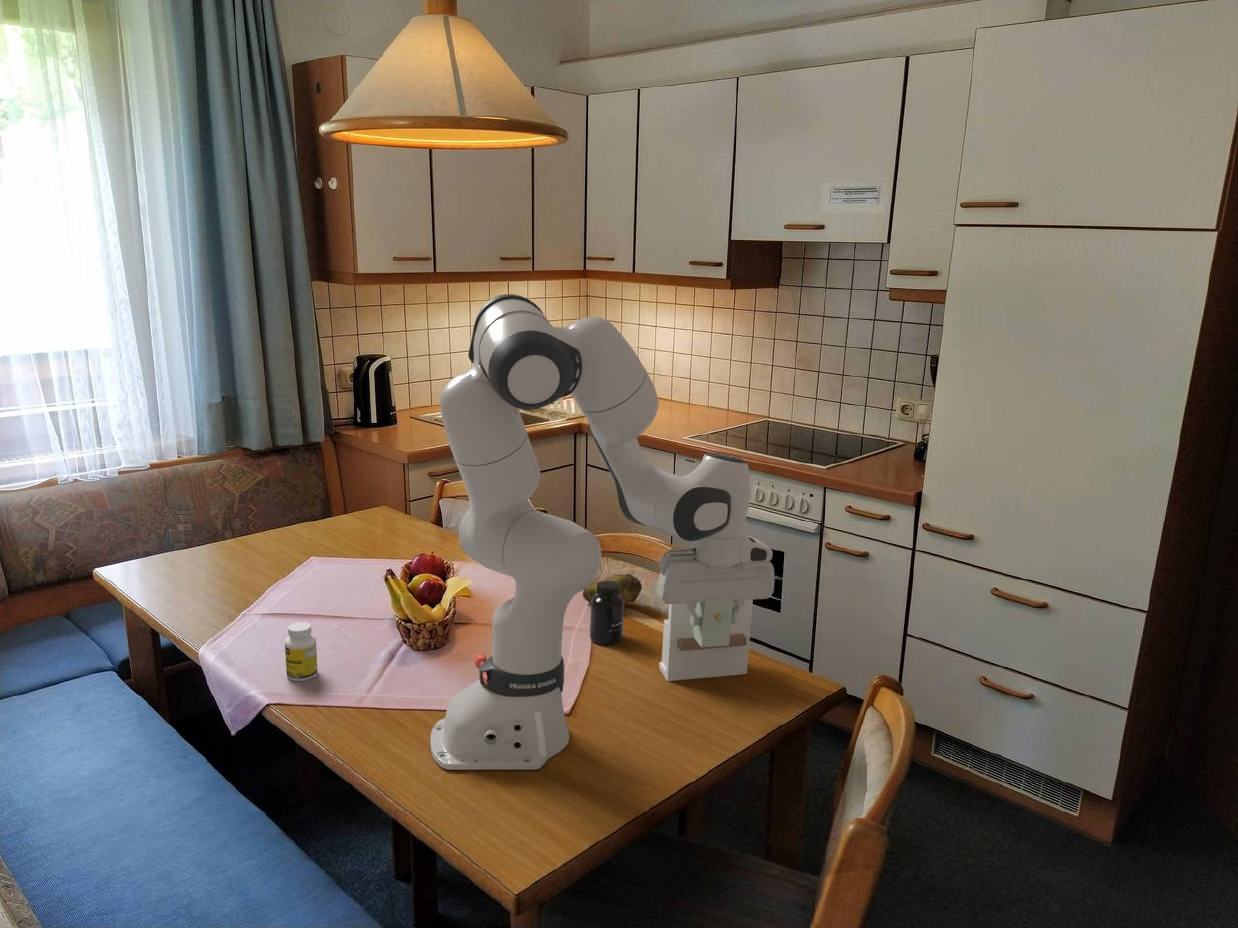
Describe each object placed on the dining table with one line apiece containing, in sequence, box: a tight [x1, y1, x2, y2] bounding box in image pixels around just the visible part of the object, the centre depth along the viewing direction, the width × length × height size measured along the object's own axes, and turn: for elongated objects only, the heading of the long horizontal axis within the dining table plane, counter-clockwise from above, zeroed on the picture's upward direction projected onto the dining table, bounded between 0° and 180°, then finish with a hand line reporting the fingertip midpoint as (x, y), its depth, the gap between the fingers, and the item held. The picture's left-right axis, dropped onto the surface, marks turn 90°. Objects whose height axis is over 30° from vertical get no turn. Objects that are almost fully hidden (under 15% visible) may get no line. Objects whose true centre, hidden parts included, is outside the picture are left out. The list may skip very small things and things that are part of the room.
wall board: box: [658, 599, 754, 682], centre depth 170 cm, size 16×8×16 cm, turn 105°
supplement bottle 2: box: [589, 580, 625, 646], centre depth 183 cm, size 7×7×12 cm
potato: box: [582, 573, 642, 604], centre depth 200 cm, size 8×13×8 cm, turn 54°
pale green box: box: [693, 596, 733, 647], centre depth 155 cm, size 5×7×9 cm
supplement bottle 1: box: [284, 621, 318, 682], centre depth 164 cm, size 5×5×10 cm
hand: (713, 623), depth 154 cm, fingers closed on pale green box, 5 cm apart
